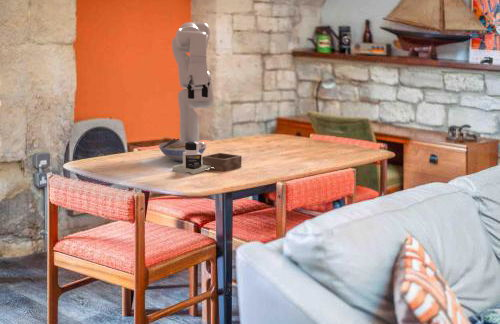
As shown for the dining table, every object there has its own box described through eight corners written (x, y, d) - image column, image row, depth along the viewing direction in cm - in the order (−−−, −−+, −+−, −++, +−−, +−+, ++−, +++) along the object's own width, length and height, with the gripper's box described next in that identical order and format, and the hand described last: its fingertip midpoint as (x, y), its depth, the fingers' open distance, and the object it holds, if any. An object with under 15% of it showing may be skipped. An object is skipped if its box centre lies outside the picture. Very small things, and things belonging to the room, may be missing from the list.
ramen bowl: (199, 166, 344) (199, 148, 343) (151, 164, 349) (150, 146, 347) (213, 157, 368) (213, 140, 367) (167, 154, 373) (167, 138, 371)
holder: (219, 163, 352) (219, 152, 352) (241, 166, 345) (241, 155, 344) (202, 167, 342) (202, 156, 341) (224, 170, 335) (224, 159, 334)
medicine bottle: (185, 170, 332) (185, 143, 329) (182, 167, 338) (182, 140, 336) (201, 169, 334) (201, 142, 331) (198, 166, 340) (198, 140, 338)
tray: (190, 166, 344) (190, 162, 344) (210, 169, 337) (210, 165, 337) (172, 170, 335) (172, 166, 334) (193, 174, 328) (193, 169, 328)
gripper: (203, 58, 352) (203, 95, 355) (179, 60, 338) (179, 98, 341) (216, 59, 348) (216, 97, 351) (192, 61, 334) (192, 100, 337)
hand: (198, 97), depth 346 cm, fingers open, 9 cm apart
